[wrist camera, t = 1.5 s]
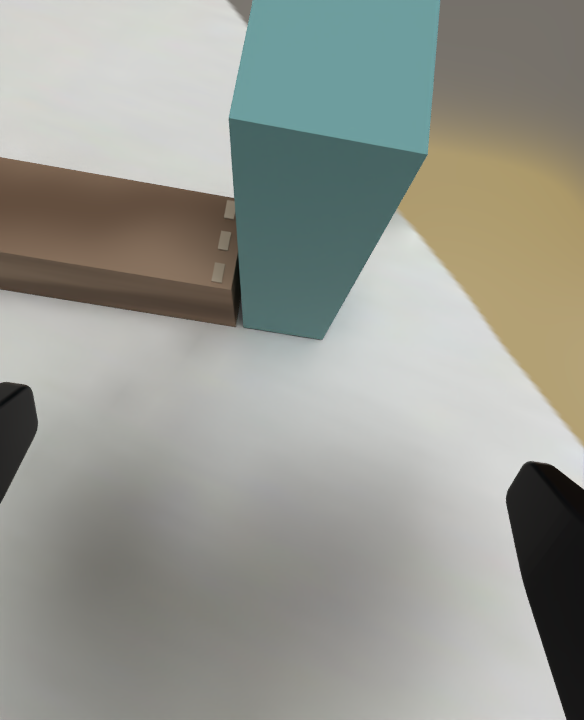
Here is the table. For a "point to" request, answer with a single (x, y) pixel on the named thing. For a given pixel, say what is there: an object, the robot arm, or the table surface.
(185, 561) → the table surface
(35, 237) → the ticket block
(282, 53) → the tall teal pillar
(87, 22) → the table surface
